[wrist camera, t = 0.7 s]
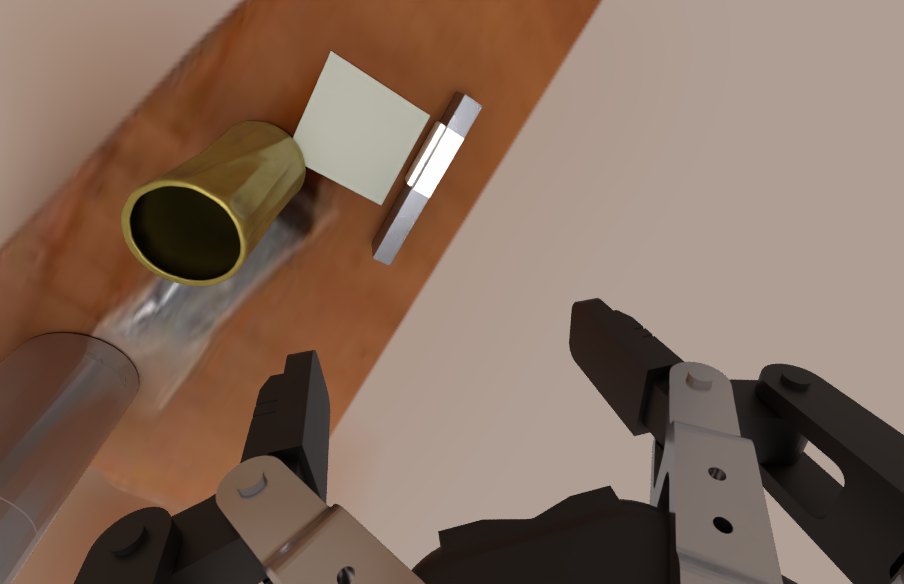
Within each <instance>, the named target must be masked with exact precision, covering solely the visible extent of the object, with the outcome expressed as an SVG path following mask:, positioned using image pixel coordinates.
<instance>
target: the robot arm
mask: <svg viewBox="0 0 904 584" xmlns="http://www.w3.org/2000/svg"><path fill="white" fill-rule="evenodd" d="M569 345H570V351H571V355H572V357H573V359H574V361H575V362H576V363H577V365H578V366H579V367H580V368H581V370H582V371H583V372H584V373H585V375H586V376H587V377H588V378H589V380H590V381H591V382H592V383H593V385H594V386H595V387H596V388H597V390H598V391H599V392H600V393H601V395H602V396H603V397H604V399H605V400H606V401H607V402H608V404H609V405H610V406H611V407H612V409H613V410H614V411H615V412H616V414H617V415H618V416H619V417H620V419H621V420H622V421H623V423H624V424H625V425H626V426H627V427H628V429H629V430H630V431H631V432H632V434H633V435H634V436H637V435H641V434H645V433H649V432H650V433H651V434H652V435H653V436H654V441H653V446H652V467H651V490H650V504H646V503H642V502H638V501H632V500H624V499H618V497H617V496H616V494H615V492H614V491H613V489H612V488H611V486H607V487H603V488H599V489H596V490H592V491H588V492H584V493H581V494H577V495H573V496H570V497H568V498H567V499H565V500H563V501H561V502H560V503H558V504H556V505H555V506H553V507H551V508H550V509H548V510H547V511H545V512H543V513H542V514H540V515H538V516H537V517H535V518H532V519H499V520H498V519H497V520H480V521H476V522H472V523H468V524H465V525H461V526H457V527H453V528H450V529H446V530H442V531H439V532H438V533H439V540H440V547H439V548H437V549H436V550H434V551H432V552H431V553H430V554H428V555H427V556H426V557H425V558H423V559H422V560H421V561H420V562H419V563H418V564H417V565H416V566H415V567H414V568H413V569H412V570H410V569H409V568H408V567H407V566H406V565H405V564H404V563H403V562H401V561H400V560H399V559H398V558H397V557H396V556H395V555H394V554H393V553H392V552H391V551H390V550H389V549H387V548H386V547H385V546H384V545H383V544H382V543H381V542H380V541H379V540H378V539H377V538H376V537H375V536H373V535H372V534H371V533H370V532H369V531H368V530H367V529H366V528H365V527H363V525H362V524H360V523H359V522H358V521H357V520H356V519H355V518H354V517H353V516H352V515H351V514H350V513H349V512H348V511H347V510H345V509H344V508H343V507H342V506H340V505H338V504H334V505H333V506H332V507H329V506H328V505H327V504H326V494H327V471H328V449H329V425H330V402H329V396H328V391H327V387H326V384H325V380H324V377H323V373H322V370H321V366H320V363H319V359H318V356H317V353H316V351H315V350H312V351H306V352H301V353H296V354H290V355H288V356H287V359H286V364H285V369H284V374H279V375H273V376H270V378H269V379H268V380H267V381H266V383H265V384H264V385H263V386H262V388H261V389H260V391H259V395H258V398H257V402H256V407H255V410H254V413H253V419H252V421H251V425H250V428H249V432H248V436H247V440H246V443H245V447H244V451H243V455H242V458H241V462H240V464H239V465H237V466H236V467H234V468H233V469H232V470H231V471H230V472H229V473H228V474H227V475H226V476H225V477H224V478H223V479H222V481H221V483H220V484H219V486H218V488H217V492H216V494H215V495H213V496H211V497H210V498H208V499H206V500H205V501H203V502H201V503H199V504H197V505H194V506H192V507H190V508H188V509H186V510H184V511H182V512H180V513H178V514H176V515H174V516H172V517H171V516H170V514H169V513H168V511H166V510H165V509H163V508H160V507H148V508H143V509H140V510H137V511H134V512H132V513H130V514H128V515H126V516H124V517H123V518H121V519H119V520H118V521H117V522H115V523H114V524H113V525H111V526H110V527H109V528H108V529H107V530H105V532H104V533H102V534H101V535H100V537H99V538H98V539H97V540H96V541H95V543H94V544H93V546H92V547H91V549H90V551H89V552H88V554H87V557H86V559H85V561H84V563H83V565H82V567H81V569H80V571H79V573H78V576H77V578H76V580H75V582H74V584H258V583H260V582H261V584H797V583H795V582H794V581H792V580H790V579H788V578H787V577H785V576H783V575H781V572H780V567H779V562H778V557H777V553H776V548H775V543H774V538H773V534H772V529H771V524H770V519H769V515H768V510H767V505H766V500H765V495H764V491H763V487H764V488H765V489H766V490H767V492H769V494H770V495H771V496H772V497H773V498H774V499H775V500H776V501H777V502H778V503H779V504H780V506H781V507H782V508H783V509H784V510H785V511H786V512H787V513H788V514H789V515H790V516H791V517H792V518H793V519H794V520H795V521H796V523H797V524H798V525H799V526H800V527H801V528H802V529H803V530H804V531H805V532H806V533H807V534H808V536H810V538H811V539H812V540H813V541H814V542H815V543H816V544H817V545H818V546H819V547H820V549H821V550H822V551H823V552H824V553H825V554H826V555H827V556H828V557H829V558H830V559H831V560H832V561H833V562H834V563H835V565H836V566H837V567H838V568H839V569H840V570H841V571H842V572H843V573H844V574H845V575H846V576H847V578H848V579H849V580H850V581H851V582H852V583H853V584H904V435H903V434H901V433H900V432H898V431H897V430H895V429H894V428H893V427H891V426H890V425H888V424H887V423H885V422H884V421H882V420H881V419H879V418H878V417H877V416H875V415H874V414H872V413H871V412H869V411H868V410H867V409H865V408H863V407H862V406H861V405H859V404H858V403H857V402H855V401H854V400H852V399H851V398H849V397H848V396H846V395H845V394H844V393H842V392H840V391H839V390H838V389H836V388H835V387H833V386H832V385H831V384H829V383H827V382H826V381H825V380H823V379H822V378H820V377H819V376H817V375H816V374H814V373H812V372H810V371H808V370H805V369H803V368H800V367H796V366H793V365H787V364H771V365H767V366H765V367H764V368H763V369H762V371H761V374H760V376H759V379H758V380H729V379H728V378H727V377H726V376H725V375H724V374H723V373H722V372H720V371H719V370H717V369H715V368H713V367H711V366H708V365H705V364H701V363H696V362H684V361H683V360H682V359H680V358H679V357H678V356H677V355H676V354H674V353H673V352H672V351H671V350H670V349H669V348H668V347H666V346H665V345H664V344H663V343H662V342H660V341H659V340H658V339H657V338H656V337H655V336H654V337H653V336H652V334H651V333H650V332H649V331H648V330H647V329H643V326H642V325H641V324H640V323H638V322H637V321H636V320H635V319H634V318H632V317H631V316H628V315H626V314H624V313H622V312H620V311H617V310H615V311H613V310H612V309H611V308H610V307H609V306H608V305H606V304H605V303H604V302H603V301H602V300H601V299H599V298H595V299H590V300H584V301H579V302H575V303H574V304H573V306H572V313H571V326H570V339H569ZM138 387H139V378H138V375H137V372H136V369H135V368H134V366H133V365H132V363H131V361H130V360H129V359H128V358H127V357H126V356H125V355H124V354H123V353H121V352H120V351H118V350H117V349H115V348H114V347H113V346H111V345H109V344H107V343H105V342H103V341H100V340H97V339H94V338H91V337H88V336H84V335H78V334H73V333H53V334H45V335H41V336H38V337H35V338H32V339H30V340H28V341H27V342H25V343H23V344H22V345H21V346H19V347H18V348H17V349H16V350H15V351H14V352H12V353H11V354H10V355H9V356H8V357H6V358H5V359H4V360H3V361H2V362H1V363H0V584H12V582H13V581H14V579H15V578H16V576H17V575H18V573H19V571H20V570H21V568H22V567H23V565H24V564H25V562H26V561H27V559H28V558H29V556H30V554H31V553H32V551H33V550H34V548H35V547H36V545H37V544H38V542H39V541H40V539H41V538H42V536H43V535H44V533H45V532H46V530H47V529H48V527H49V526H50V524H51V522H52V521H53V519H54V518H55V516H56V515H57V513H58V512H59V510H60V509H61V507H62V506H63V504H64V503H65V501H66V499H67V498H68V497H69V495H70V494H71V492H72V491H73V489H74V487H75V486H76V485H77V483H78V481H79V480H80V478H81V477H82V475H83V474H84V472H85V471H86V469H87V468H88V466H89V465H90V463H91V462H92V460H93V459H94V457H95V456H96V454H97V453H98V451H99V450H100V448H101V447H102V445H103V444H104V442H105V441H106V439H107V438H108V436H109V434H110V433H111V431H112V430H113V429H114V427H115V426H116V424H117V423H118V421H119V419H120V418H121V416H122V415H123V413H124V412H125V410H126V409H127V407H128V406H129V404H130V403H131V401H132V400H133V398H134V397H135V395H136V393H137V390H138ZM808 440H809V441H810V442H811V443H812V444H814V445H815V446H816V447H817V448H818V449H819V450H821V451H822V452H823V453H824V454H825V455H826V456H828V457H829V458H830V459H831V460H832V461H833V462H834V463H836V465H837V466H838V467H839V468H840V470H841V471H842V473H843V475H844V479H845V485H844V487H842V485H840V484H839V483H838V482H837V481H836V480H835V479H833V478H832V477H831V476H830V475H829V474H828V473H827V472H826V471H825V470H823V469H822V468H821V467H820V466H819V465H818V464H817V463H816V462H815V461H813V460H812V459H811V458H810V457H809V456H808V455H807V454H806V453H805V452H803V450H804V448H805V446H806V444H807V442H808Z"/></svg>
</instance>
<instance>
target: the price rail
mask: <svg viewBox="0 0 904 584" xmlns="http://www.w3.org/2000/svg"><path fill="white" fill-rule="evenodd" d="M481 108H482V106H481V105H480V104H478V103H477V102H475V101H474V100H472V99H471V98H470V97H468V96H467V95H465V94H462V93H459V92H456V93H455V95H454V97H453V99H452V100H451V102H450V104H449V106H448V108H447V109H446V111H445V113H444V115H443V117H442V118H441V120H440V122H439V121H437V120H436V122H435V124H434V125H433V127H432V129H431V131H430V133H429V135H428V136H427V138H426V140H425V142H424V144H423V145H422V147H421V149H420V151H419V153H418V154H417V156H416V158H415V160H414V162H413V164H412V165H411V167H410V169H409V171H408V173H407V174H406V176H405V180H406V183H405V185H404V187H403V189H402V190H401V192H400V194H399V196H398V198H397V199H396V201H395V203H394V205H393V207H392V208H391V210H390V212H389V214H388V216H387V217H386V219H385V221H384V223H383V225H382V226H381V228H380V230H379V232H378V234H377V235H376V237H375V239H374V241H373V243H372V253H373V258H374V259H376V260H378V261H380V262H382V263H385V264H387V265H389V266H390V264H391V262H392V261H393V259H394V257H395V255H396V254H397V252H398V250H399V249H400V247H401V245H402V243H403V242H404V240H405V238H406V237H407V235H408V233H409V231H410V230H411V228H412V226H413V225H414V223H415V221H416V219H417V218H418V216H419V214H420V213H421V211H422V209H423V207H424V206H425V204H426V202H427V201H428V199H429V198H430V196H431V195H432V193H433V191H434V190H435V188H436V186H437V184H438V183H439V181H440V179H441V178H442V176H443V174H444V172H445V171H446V169H447V167H448V166H449V164H450V162H451V160H452V159H453V157H454V155H455V154H456V152H457V150H458V148H459V147H460V145H461V143H462V142H463V140H464V137H465V136H466V134H467V132H468V130H469V129H470V127H471V125H472V124H473V122H474V120H475V118H476V117H477V115H478V113H479V112H480V110H481Z"/></svg>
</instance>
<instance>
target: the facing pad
mask: <svg viewBox="0 0 904 584" xmlns="http://www.w3.org/2000/svg"><path fill="white" fill-rule="evenodd" d="M429 117H430V115H428V114H427V113H425V112H424V111H422V110H421V109H419V108H418V107H416V106H415V105H413V104H411V103H410V102H408V101H407V100H405V99H404V98H402V97H401V96H399V95H398V94H396V93H395V92H393V91H392V90H390V89H388V88H387V87H385V86H384V85H382V84H381V83H379V82H378V81H376V80H375V79H373V78H372V77H370V76H369V75H367V74H365V73H364V72H362V71H361V70H359V69H358V68H356V67H355V66H353V65H352V64H350V63H349V62H347V61H346V60H344V59H343V58H341V57H339V56H338V55H336V54H335V53H333V52H332V51H331V52H330V55H329V57H328V59H327V61H326V64H325V66H324V68H323V71H322V73H321V75H320V77H319V80H318V82H317V84H316V86H315V89H314V91H313V93H312V96H311V98H310V100H309V102H308V105H307V107H306V109H305V112H304V114H303V116H302V118H301V121H300V123H299V125H298V128H297V130H296V132H295V134H294V137H293V140H294V141H295V142H296V144H297V145H298V147H299V148H300V150H301V152H302V155H303V158H304V162H305V166H306V167H308V168H310V169H312V170H314V171H316V172H318V173H320V174H322V175H324V176H326V177H327V178H329V179H331V180H333V181H335V182H337V183H339V184H341V185H343V186H345V187H347V188H349V189H351V190H352V191H354V192H356V193H358V194H360V195H362V196H364V197H366V198H368V199H370V200H372V201H374V202H376V203H377V204H379V205H382V203H383V202H384V200H385V198H386V196H387V194H388V192H389V191H390V189H391V187H392V185H393V183H394V181H395V180H396V178H397V176H398V174H399V172H400V170H401V169H402V167H403V165H404V163H405V161H406V159H407V158H408V156H409V154H410V152H411V150H412V148H413V147H414V145H415V143H416V141H417V139H418V137H419V136H420V134H421V132H422V130H423V128H424V126H425V125H426V123H427V121H428V119H429Z"/></svg>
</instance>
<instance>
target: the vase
mask: <svg viewBox="0 0 904 584" xmlns="http://www.w3.org/2000/svg"><path fill="white" fill-rule="evenodd" d="M305 174H306V168H305V162H304V158H303V155H302V152H301V150H300V148H299V147H298V145H297V144H296V142H295V141H294V140H293V139H292V138H291V136H290V135H288V134H287V133H286V132H285V131H283V130H282V129H280V128H278V127H276V126H274V125H272V124H270V123H267V122H260V121H244V122H241V123H239V124H237V125H234V126H233V127H231V128H229V129H228V130H227V131H226V133H225V134H223V135H222V136H221V137H220V138H219V139H218V140H216V141H215V142H214V143H213V144H212V145H210V146H209V147H208V148H207V149H206V150H204V151H203V152H201V153H200V154H198V155H197V156H195V157H193V158H191V159H189V160H187V161H185V162H183V163H182V164H180V165H178V166H176V167H174V168H172V169H171V170H169V171H167V172H165V173H164V174H162V175H160V176H158V177H156V178H155V179H153V180H151V181H149V182H147V183H145V184H143V185H141V186H139V187H138V188H137V189H135V190H134V191H133V192H132V193H131V195H130V196H129V198H128V200H127V201H126V203H125V206H124V208H123V210H122V213H121V228H122V232H123V235H124V239H125V241H126V243H127V245H128V247H129V248H130V250H131V252H132V253H133V254H134V255H135V257H136V258H137V259H138V260H139V261H140V262H141V263H142V264H143V265H144V266H145V267H147V268H148V269H149V270H150V271H152V272H153V273H155V274H156V275H158V276H160V277H162V278H165V279H167V280H170V281H173V282H176V283H180V284H184V285H191V286H208V285H214V284H217V283H220V282H222V281H225V280H226V279H228V278H230V277H231V276H233V275H234V274H235V273H236V271H237V270H238V269H239V268H240V267H241V265H242V264H243V263H244V262H245V260H246V259H247V257H248V256H249V254H250V253H251V251H252V250H253V249H254V247H255V246H256V245H257V243H258V242H259V241H260V239H261V237H262V236H263V235H264V233H265V232H266V230H267V229H268V227H269V226H270V224H271V223H272V222H273V220H274V219H275V218H276V216H277V215H278V214H279V213H280V211H281V210H282V209H283V208H284V207H285V206H286V204H287V203H288V202H289V201H290V199H291V198H292V197H293V196H294V195H296V194H297V193H298V191H299V190H300V189H301V187H302V185H303V182H304V179H305Z"/></svg>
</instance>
